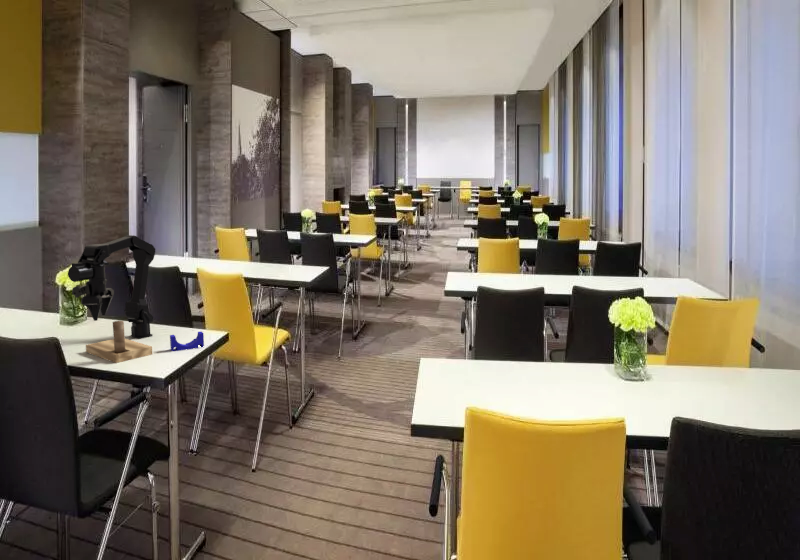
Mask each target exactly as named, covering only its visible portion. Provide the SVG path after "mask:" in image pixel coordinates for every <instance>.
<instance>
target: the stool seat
mask: <svg viewBox="0 0 800 560" xmlns="http://www.w3.org/2000/svg"><path fill="white" fill-rule="evenodd" d="M125 351H126V352H123V353H119V354H116V353H115V350H114V338H113V339H107V340H103V341H98V342H94V343H93V342H92V343H88V344H85V352H88V353H87V354H89V353H90V355H92V354H93V355H92V356H95V355H96V356H95V357H98V356H99V357H98V358H101V359H103V358H104V360H106V359H107V361H109V360H110V362H113V363H115V364H117V363H122V362H126V361H131V360H134V359H139V358H142V357H146V356H151V355H153V345H152V346H150V345H148V344H144V343H141V342H138V341H134V340H131V339H128V338H125Z"/></svg>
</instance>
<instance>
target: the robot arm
mask: <svg viewBox="0 0 800 560" xmlns="http://www.w3.org/2000/svg"><path fill="white" fill-rule="evenodd" d="M126 248H128V250H129V251H130V252H132V258H133V260H134V264H135V270H134V277H133V278H134V279H133V284H132V285H133V287H132V293H131V298H130V300H128V301H126V302H125V306H124V307H125V308H124V312H125V313H124V314H125V317H126V318H127V321H128V323H131V327H130V330H131V331H130V333H131V334H130V337H131V336H132V338H135V339H143V338H149V337H153V335H154V334H153V333H151V323H153V321H154V315H152V314H151V313H150V312H149V311H148V310H149V305H148V303H147V301H146V293H147V286H148V285H147V282H148V275H149V268H150V267H149V266H150V265H151V263H152V262H153V260H154V258H155V255H156V248H155V246H154V245H153V244H151V243H149V242H147V241H145V240H143V239H141V238H140V237H138V236H137V235H130V234H127V235H124V236H123V237H119V238H117V239H113V240H112V241H111V240H110V241H108V242H104V243H96V244H95V243H94V244H88V245H85V247H84V249H83V251H82V253H81V256H80V257H79V259H78V261H77V262H72V263H71V266H70V267H69V268H68V271H67V276H68V278H69V280H70V281H71V282H74V283H76V282H81V281H86V282H85V285H82V286H79V285H77V286H74V287H72V290H71V294H72V296H74V297H75V299H76V298H79V297H81V296H83V297H82V298H80V300H81V301H80V303H81V305H83V306H85V307H86V308H88V310H89V312H90V314H91V315H90V316H91V317H92V319H93V321H98V319H99V315H100V313H101V316H106V315H107V312H108V309H109V307H110V304H111V302H112V299H113V298H114V295H115V289H113V288H111V287H107V286H106V285H107V283H108V279H106V271H105V270H106V266H109V265H110V263H109V262H108V261H106V259H108V258H109V257H110V256H111V255H112V254H113V253H117V252H118V251H121V250H124V249H126Z"/></svg>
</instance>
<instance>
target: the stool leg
mask: <svg viewBox="0 0 800 560" xmlns="http://www.w3.org/2000/svg"><path fill="white" fill-rule="evenodd" d="M112 333H113V334H112V336H113V339H114V350H115V353H116V354H119V353H123V352H126V351H125V339H126V336H125V321H124V320H116V321H115V320H114V321H112Z"/></svg>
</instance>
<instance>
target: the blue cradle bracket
mask: <svg viewBox="0 0 800 560" xmlns="http://www.w3.org/2000/svg"><path fill="white" fill-rule="evenodd" d="M204 336H205V335H204V332H203V331H197V335H196V338H193V339H192V340H191V341H190V342H187V343H180V342H178V340H177V337H176V335H175V334H170V335H169V343H170V351H171V352H178V351H185V350H186V349H187V350H194V349H193V348H195V349H199V348H198V345H200V346H201V347H203V346H204V347H205V341H204V338H205V337H204ZM204 347H203V348H204ZM187 350H186V351H187Z"/></svg>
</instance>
